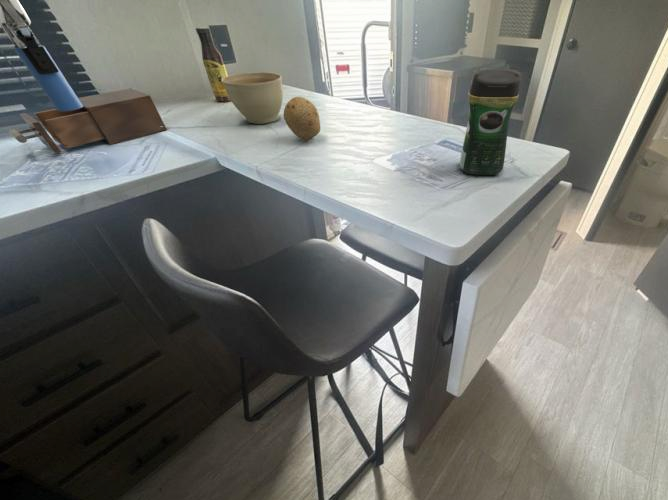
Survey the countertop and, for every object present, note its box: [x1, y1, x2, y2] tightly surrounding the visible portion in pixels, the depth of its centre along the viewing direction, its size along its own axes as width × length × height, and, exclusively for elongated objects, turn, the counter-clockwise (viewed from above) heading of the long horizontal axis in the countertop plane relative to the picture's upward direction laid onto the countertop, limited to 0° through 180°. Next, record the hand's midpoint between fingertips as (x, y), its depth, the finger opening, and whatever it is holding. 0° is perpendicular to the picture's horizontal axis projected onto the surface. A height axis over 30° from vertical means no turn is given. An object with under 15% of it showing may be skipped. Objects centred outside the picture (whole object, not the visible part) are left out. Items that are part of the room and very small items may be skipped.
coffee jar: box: [459, 68, 521, 176], centre depth 65 cm, size 10×8×19 cm
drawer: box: [8, 108, 106, 155], centre depth 79 cm, size 18×11×7 cm, turn 142°
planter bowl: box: [221, 71, 284, 125], centre depth 93 cm, size 16×16×11 cm
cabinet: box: [78, 88, 167, 145], centre depth 86 cm, size 15×13×9 cm
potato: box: [283, 96, 321, 142], centre depth 81 cm, size 9×9×10 cm
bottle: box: [12, 37, 83, 111], centre depth 64 cm, size 5×5×12 cm
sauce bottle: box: [195, 26, 232, 103], centre depth 105 cm, size 6×6×20 cm
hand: (44, 70), depth 63 cm, fingers closed on bottle, 4 cm apart
